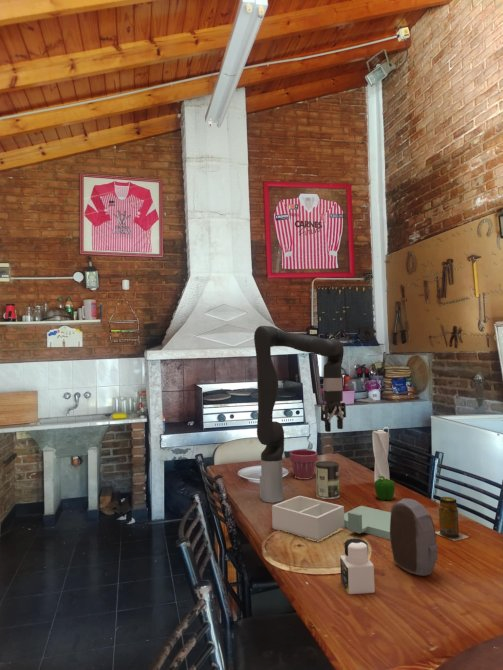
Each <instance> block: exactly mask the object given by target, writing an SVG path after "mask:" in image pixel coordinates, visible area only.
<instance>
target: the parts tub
mask: <svg viewBox="0 0 503 670" xmlns="http://www.w3.org/2000/svg"><path fill="white" fill-rule="evenodd" d="M271 512H272V513H271V514H272V515H271V517H272V519H271V520H272V522H271V523H272V525H271V526H272V529H273V530H276V531H280V530H285V531H287V532H290V533H293V534H296V535H300V536H302V537H306V538H310V539H313V540H316V541H319V540H321V539H322V538H324V537H326V536H328V535H330V534H331V533H333V532H335V531H337V530H338V529H339V528H343V529H344V530H345V528H346V527H344V513H345V506H344V505H339V504H336V503H331V502H327V501H323V500H320V499H315V498H311V497H307V496H302V495H298V496H297V495H296V496H294V497H292V498H289V499H286V500H282V501H280V502H277V503H276V504H275V503H274V504H273V505H272V506H271Z"/></svg>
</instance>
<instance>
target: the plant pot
mask: <svg viewBox="0 0 503 670" xmlns="http://www.w3.org/2000/svg"><path fill="white" fill-rule="evenodd" d="M289 460H290V461H291V465H292V470H293V474H294V477H295V476H296V477H299V478H310V477H313V478H314V473H315V470H316V465H315V463H317V461H318V452H317V451H316V450H311V449H294V450H293V449H292V450H291V451H290V452H289Z"/></svg>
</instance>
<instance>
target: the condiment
mask: <svg viewBox="0 0 503 670" xmlns="http://www.w3.org/2000/svg"><path fill="white" fill-rule="evenodd" d="M458 509H459V508H458V507H457V499H456V498H454V497H450V496H441V497H440V498H439V505H438V519H439V520H438V524H439V525H438V526H439V531H435V534H436V535H438V536H441V537H444V538H446V539H449V540H452V541H453V542H455V541H460V540H464V539H467V538H469V536H468V535H465V534H463V533H460V531H459V529H460V528H459V510H458Z"/></svg>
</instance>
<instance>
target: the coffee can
mask: <svg viewBox="0 0 503 670" xmlns="http://www.w3.org/2000/svg"><path fill="white" fill-rule="evenodd" d="M339 466H340V464H339V462H336V461H329V460H328V461H326V460H324V461H318V462H317V461H316V463H315V480H316V482H315V484H316V486H315V487H316V489H315V490H316V495H315V496H316V497H317V498H319V499H322V500H335V499H339V498H340V497H341V495H340V494H341V493H340V469H339Z"/></svg>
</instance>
